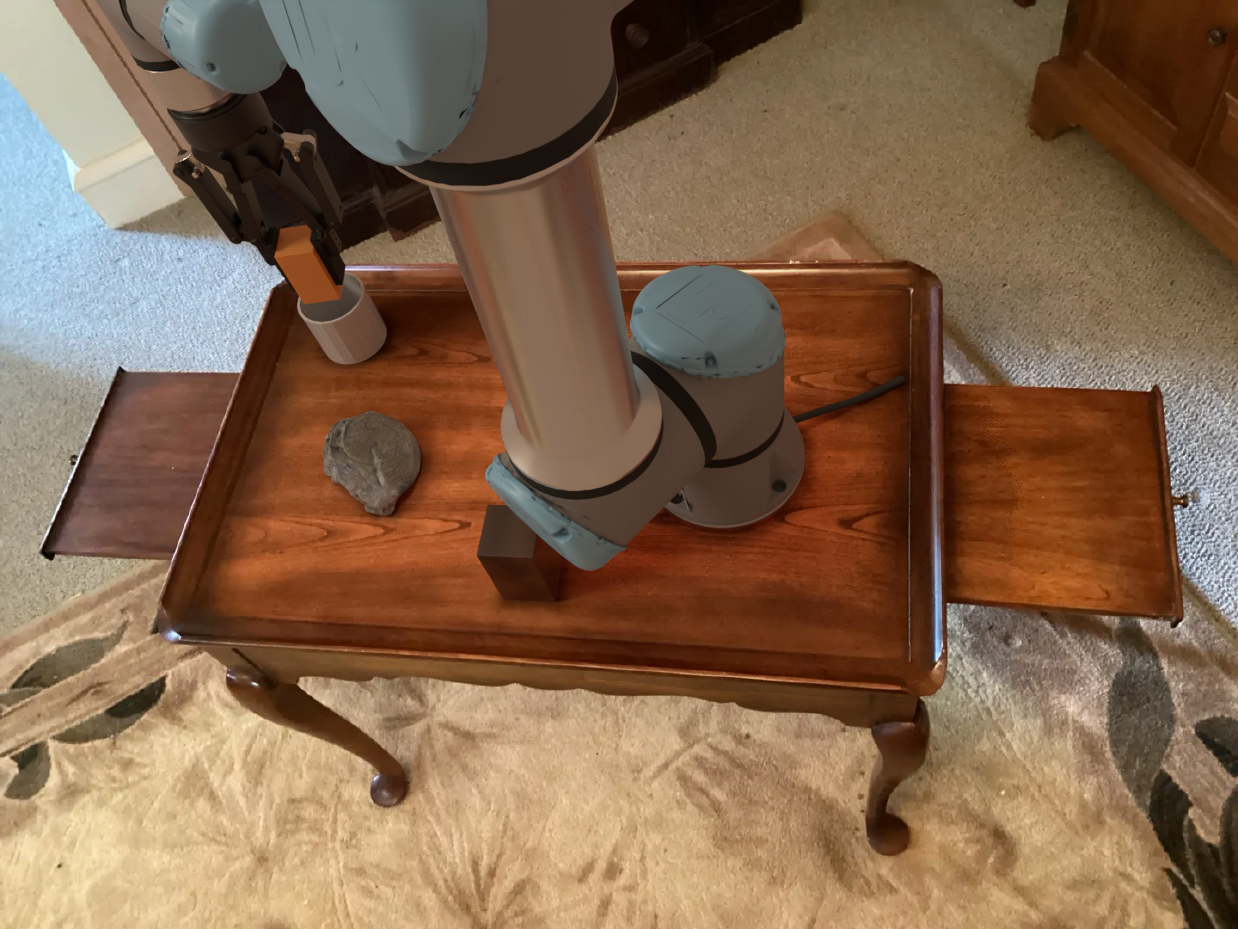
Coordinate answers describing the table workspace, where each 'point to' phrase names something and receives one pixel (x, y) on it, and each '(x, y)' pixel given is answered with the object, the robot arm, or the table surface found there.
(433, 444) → the table surface
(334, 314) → the plain cylindrical cup
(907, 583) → the table surface
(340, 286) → the orange block
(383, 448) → the fossilized seashell
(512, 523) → the dark brown block
